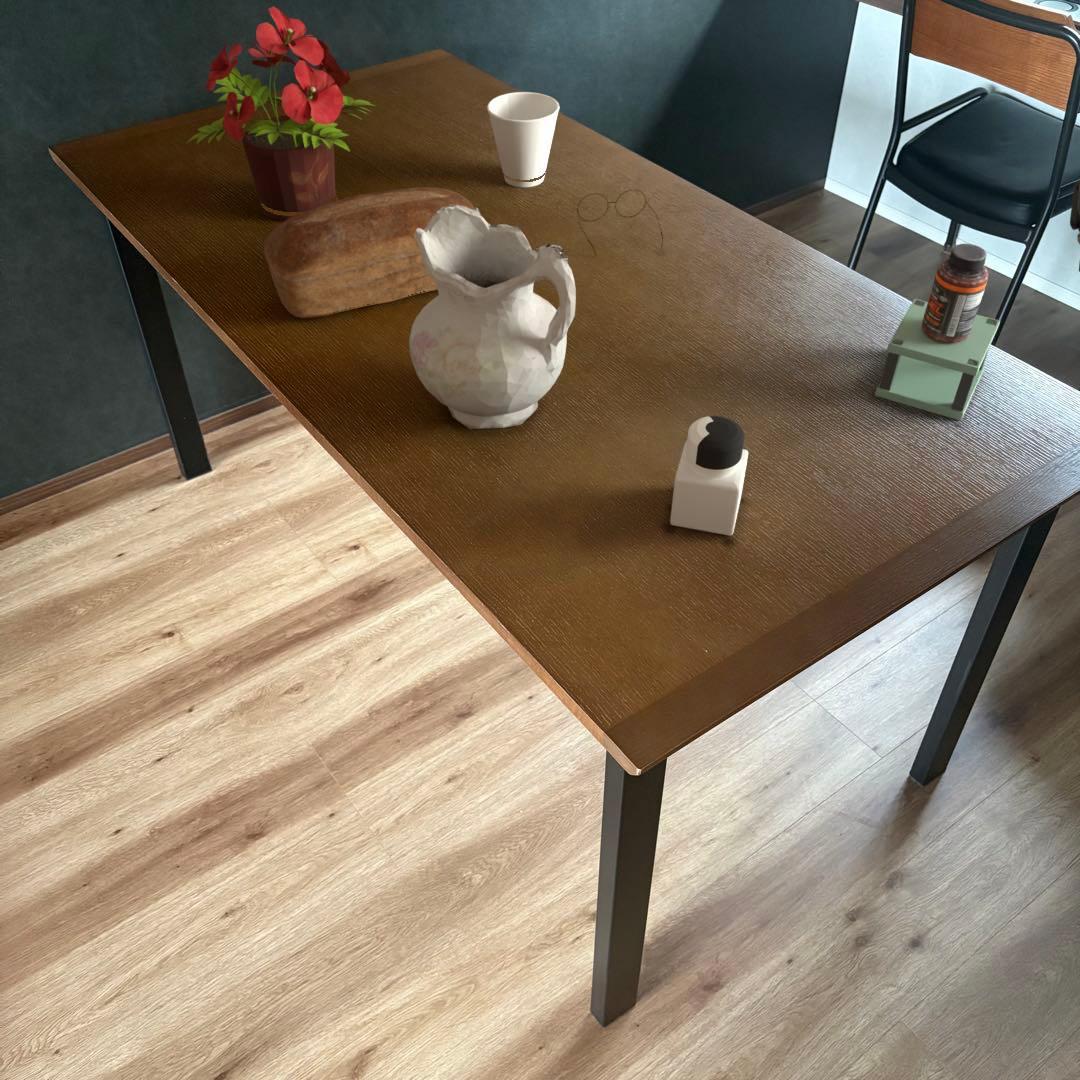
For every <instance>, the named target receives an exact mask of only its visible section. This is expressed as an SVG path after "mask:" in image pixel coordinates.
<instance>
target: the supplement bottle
mask: <svg viewBox="0 0 1080 1080" xmlns="http://www.w3.org/2000/svg"><path fill="white" fill-rule="evenodd" d="M987 255H988V254H987V251H986V250H985V249H984V248H982V246H979V245H978V244H977V245H976V244H972V243H959V244H956V245H953V247H952V248H951V250H950V255H949V258H947V259H945V260H944V261H942V262H941V263H940V264H939V265H938V267H937V270H936V273H935V276H934V281H933V283H932V287H931V291H930V294H929V297H928V301H927V302H928V304H927V308H926V311H925V314H924V317H923V322H922V329H923V331H924V333H925V334H926V335H927V336H929V337H930V338H932V339H934V340H936V341H940V342H944V343H957V342H962V341H963V340H965V339H967V338H968V336H969V335H970V332H971V329H972V326H973V323H974V320H975V317H976V315H978V311H979V308H980V305H981V302H982V299H983V297H984V293H985V290H986V286H987V283H988V279H989V271H988V269H987V267H986V266H985V264H986V259H987Z"/></svg>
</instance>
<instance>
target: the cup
mask: <svg viewBox="0 0 1080 1080" xmlns="http://www.w3.org/2000/svg"><path fill="white" fill-rule="evenodd" d="M560 108H561V107H560V104H559V102H558V101H557V99H555V98H553V97H551V96H549V95H547V94H544V93H539V92H531V91H515V92H507V93H504V94H501V95H498V96H496V97H494V98H492V99H491V100H490V101H489V102H488V103H487V105H486V110H487V113H488V115H489V116H488V117H489V120H490V124H491V128H492V133H493V137H494V141H495V146H496V150H497V154H498V158H499V163H500V166H501V170H502V174H503V173H504V174H505V175H506V176H508V177H510V178H513V179H520V180H530V179H534V178H538V177H540V176H542V175H543V174H544V173H545V175H544V176H543V177H542V178H541V179H539V180H536V181H533V182H515V181H511V180H509V179H507V178H506V177H505V176H504V175H503V179H504V181H505V183H506V184H508V185H509V186H512V187H515V188H516V187H517V188H532V187H536V186H539V185H540V184H542V183H543V182H544V180H545V177H546V172H545V171H547V166H548V163H549V157H550V152H551V147H552V143H553V138H554V133H555V129H556V123H557V119H558V114H559V112H560Z"/></svg>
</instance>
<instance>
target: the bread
mask: <svg viewBox="0 0 1080 1080" xmlns="http://www.w3.org/2000/svg"><path fill="white" fill-rule="evenodd" d="M450 204H451V205H453V204H456V205H459V206H465V207H467V208H469V209H472V210H475V209H476V207H474V205H473V203H472V202H471V201H470V200H469V199H467V198H466V197H465V196H463V195H462V194H460V193H458V192H456V191H454V190H450V189H446V188H441V187H432V186H427V187H426V186H418V187H417V186H416V187H410V188H400V189H391V190H383V191H375V192H366V193H360V194H355V195H352V196H349V197H344V198H342V199H338V201H335V202H332V203H329V204H326V205H323V206H320V207H317V208H313V209H310V210H307V211H305V212H302V213H299V214H297V215H295V216H293V217H291V218H289V219H287V220H286V221H281V223H279V224H278V225H277V226H276V227H275V228H273V229H272V230H271V232H270V233H269V234H268V235H267V237H266V240H264V242H263V253H264V256H265V259H266V260H267V264H268V268H269V272H270V275H271V278H272V281H273V284H274V286H275V289H276V292H277V295H278V298H279V297H280V298H279V301H280V302H282V303H281V304H282V306H283V305H284V306H283V307H284V308H285V310H286V309H287V310H286V311H287V312H288V313H289V314H290V315H292V316H294V317H295V318H297V317H307V318H303V320H305V319H317V318H325V317H328V316H332V315H336V314H339V313H342V312H345V311H351V310H355V309H359V308H364V307H368V306H373V305H374V306H375V305H379V304H385V303H390V302H394V301H397V300H401V299H405V298H408V297H411V296H416V295H419V294H423V293H428V292H433V291H438V288H437V285H436V283H435V281H434V280H433V279H432V277H431V276H430V274H429V272H428V270H427V268H426V267H425V264H424V262H423V259H422V256H421V252H420V248H419V245H418V242H417V240H416V239H415V238H414V237H415V232H416V230H417V228H421V229H422V230H423V229H425V228H426V226H427V224H428V222H429V221H430V219H431V218H432V217H433V216H434V215H435V214H437V213H436V212H437V211H438V210H439V209H441V208H442V207H443V206H444V207H446V206H448V205H450ZM423 291H425V292H423ZM420 292H421V293H420ZM415 293H417V294H415ZM411 294H413V295H411ZM408 295H409V296H408ZM373 303H374V304H373ZM367 304H369V305H367ZM363 305H364V306H363ZM358 306H359V307H358ZM354 307H355V308H354ZM349 308H351V309H349ZM345 309H346V310H345ZM341 310H342V311H341ZM337 311H338V312H337ZM333 312H335V313H333ZM330 313H331V314H330ZM325 314H327V315H325ZM319 315H323V316H319ZM311 316H316V317H311Z"/></svg>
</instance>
